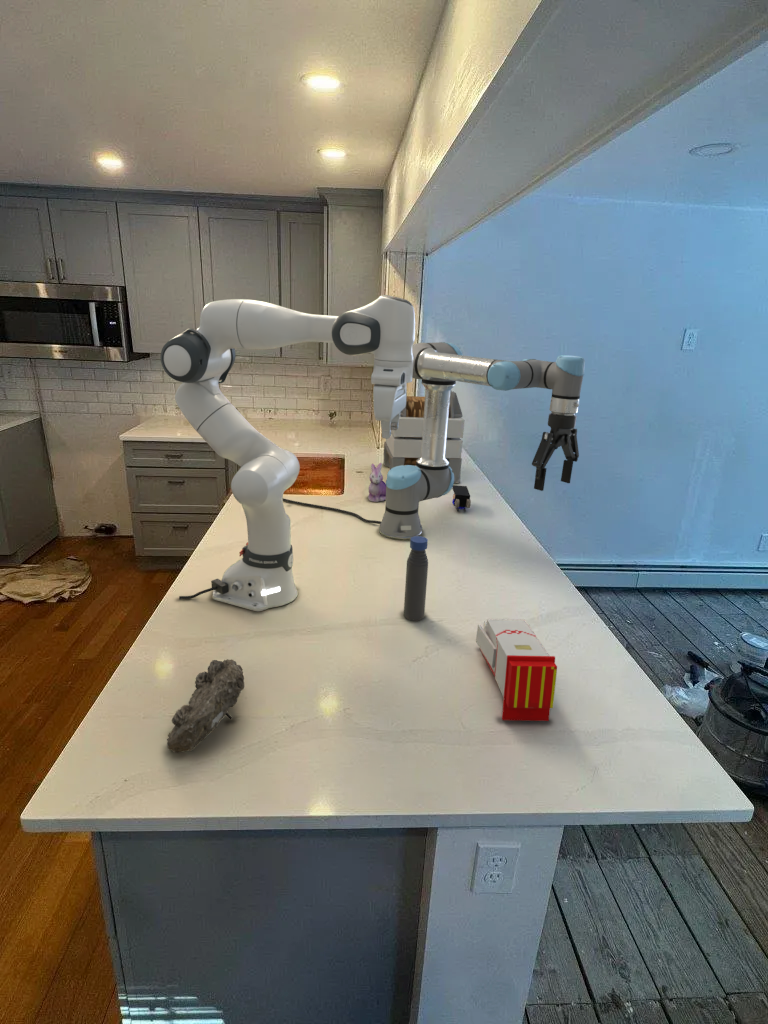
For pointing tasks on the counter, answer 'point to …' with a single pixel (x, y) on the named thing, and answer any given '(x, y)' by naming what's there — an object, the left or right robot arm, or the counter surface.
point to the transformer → (409, 436)
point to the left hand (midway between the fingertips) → (390, 433)
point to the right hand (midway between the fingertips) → (552, 485)
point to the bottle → (415, 585)
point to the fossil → (206, 705)
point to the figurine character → (461, 497)
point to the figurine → (376, 484)
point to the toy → (519, 668)
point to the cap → (418, 543)
